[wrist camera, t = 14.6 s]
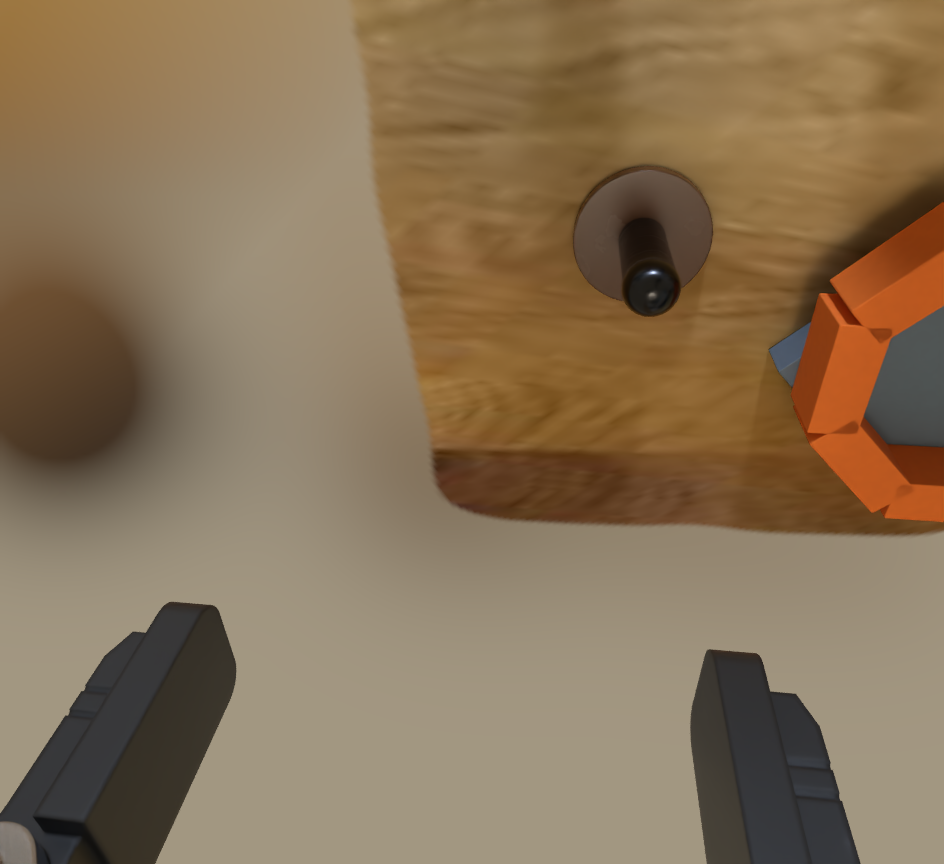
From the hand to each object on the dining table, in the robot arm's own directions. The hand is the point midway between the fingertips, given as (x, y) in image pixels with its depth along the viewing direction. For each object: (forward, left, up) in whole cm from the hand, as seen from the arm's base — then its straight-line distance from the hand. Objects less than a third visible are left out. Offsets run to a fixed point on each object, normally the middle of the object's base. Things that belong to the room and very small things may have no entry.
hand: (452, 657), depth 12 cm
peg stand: (-2, +6, -30) cm, 31 cm away
